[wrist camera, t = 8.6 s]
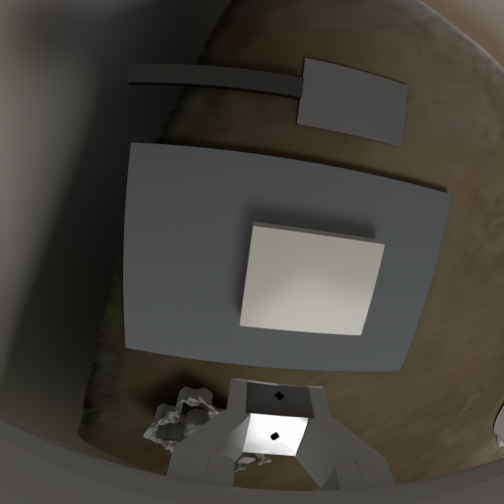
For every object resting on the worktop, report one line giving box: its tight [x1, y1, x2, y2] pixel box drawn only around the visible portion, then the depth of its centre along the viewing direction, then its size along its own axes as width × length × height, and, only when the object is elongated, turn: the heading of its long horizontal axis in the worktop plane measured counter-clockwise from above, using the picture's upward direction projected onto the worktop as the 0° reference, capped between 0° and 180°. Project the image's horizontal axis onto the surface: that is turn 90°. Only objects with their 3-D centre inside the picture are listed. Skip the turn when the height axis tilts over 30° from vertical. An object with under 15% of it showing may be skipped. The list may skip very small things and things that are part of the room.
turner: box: [126, 58, 408, 148], centre depth 19 cm, size 20×5×1 cm, turn 82°
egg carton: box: [143, 386, 273, 473], centre depth 26 cm, size 11×8×4 cm
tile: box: [240, 222, 385, 335], centre depth 22 cm, size 2×7×9 cm
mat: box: [123, 143, 451, 371], centre depth 23 cm, size 24×16×1 cm, turn 82°
